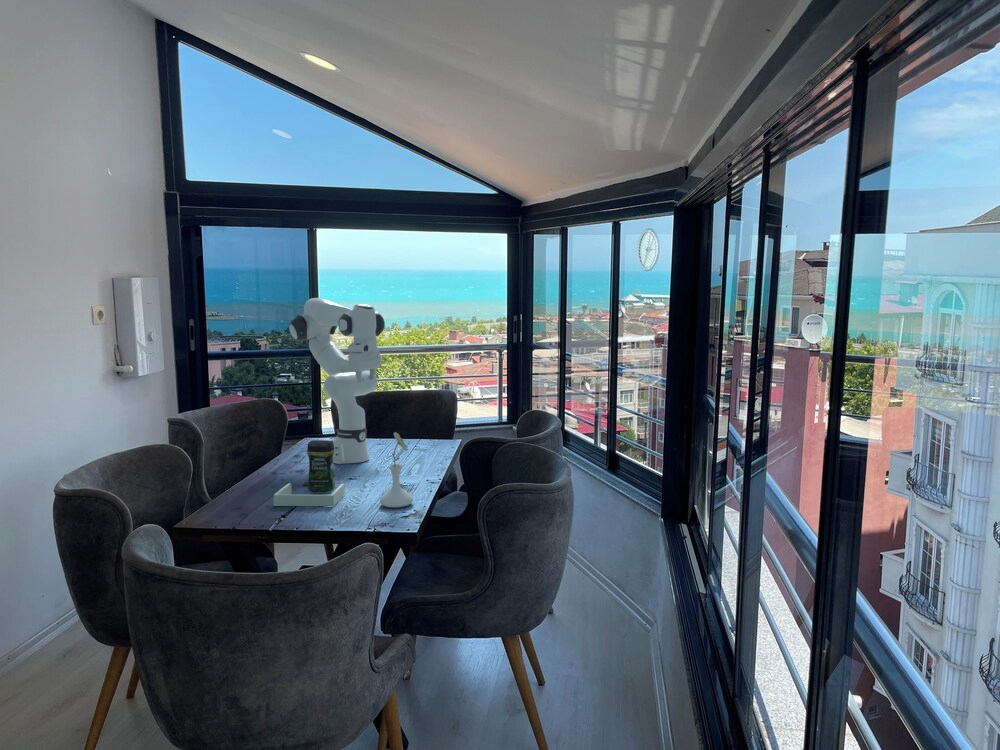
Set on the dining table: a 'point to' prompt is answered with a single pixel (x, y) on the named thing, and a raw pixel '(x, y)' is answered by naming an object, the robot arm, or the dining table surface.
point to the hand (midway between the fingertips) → (366, 381)
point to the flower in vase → (396, 483)
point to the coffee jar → (321, 465)
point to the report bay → (306, 498)
